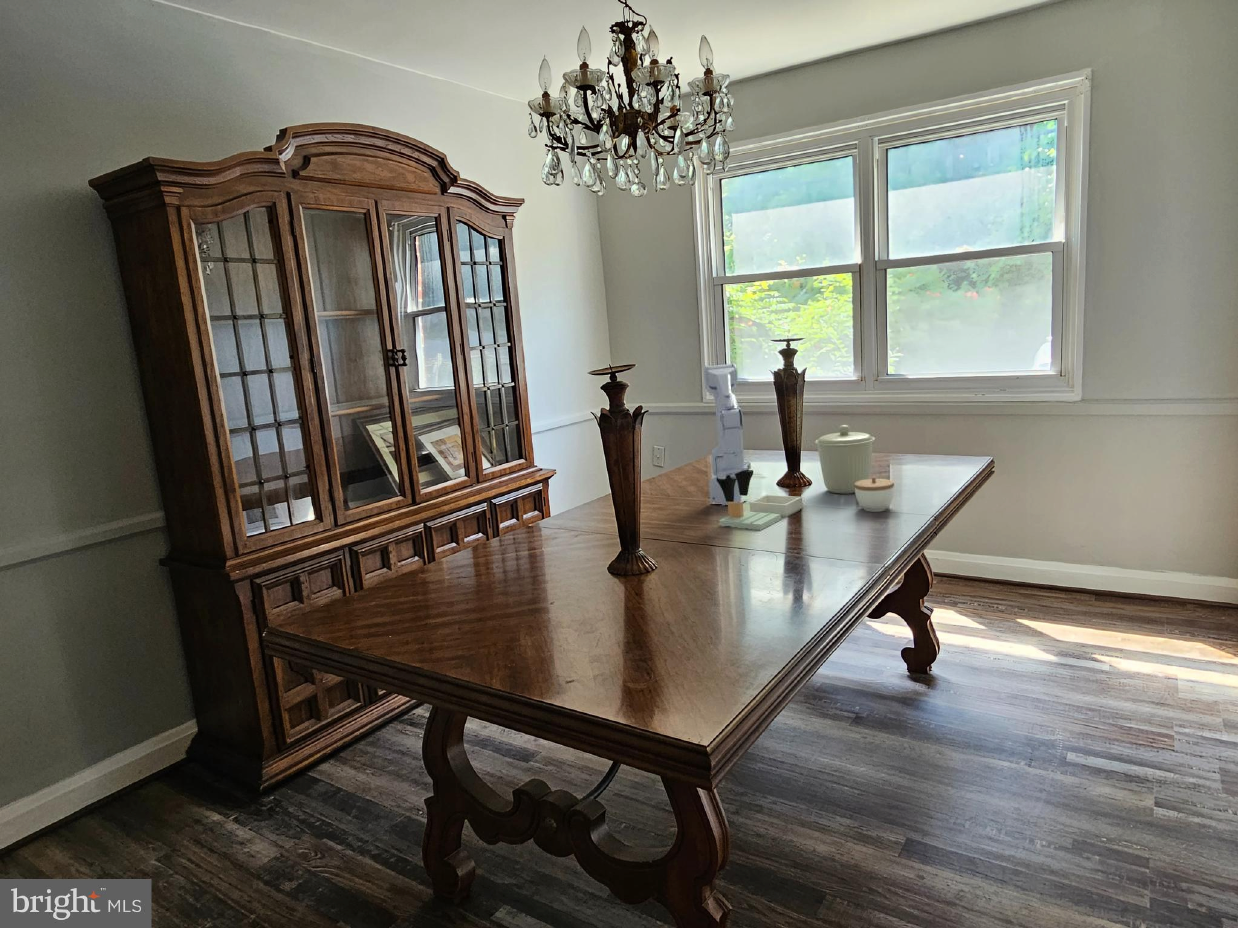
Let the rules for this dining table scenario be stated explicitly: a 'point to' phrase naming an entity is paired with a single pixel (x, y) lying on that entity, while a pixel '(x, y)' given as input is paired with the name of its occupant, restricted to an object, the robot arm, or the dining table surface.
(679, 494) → the dining table surface
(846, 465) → the canister
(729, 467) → the robot arm
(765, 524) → the lid
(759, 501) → the parts tub
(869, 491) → the lidded jar
